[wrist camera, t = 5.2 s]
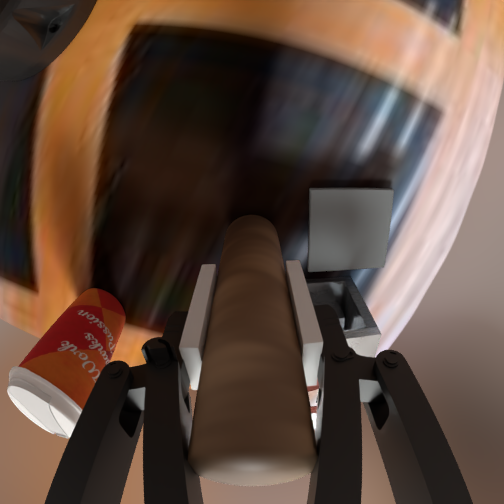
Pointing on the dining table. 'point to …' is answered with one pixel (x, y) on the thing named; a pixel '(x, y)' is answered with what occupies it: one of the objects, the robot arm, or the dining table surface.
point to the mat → (348, 228)
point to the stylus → (252, 370)
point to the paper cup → (67, 362)
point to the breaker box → (346, 314)
